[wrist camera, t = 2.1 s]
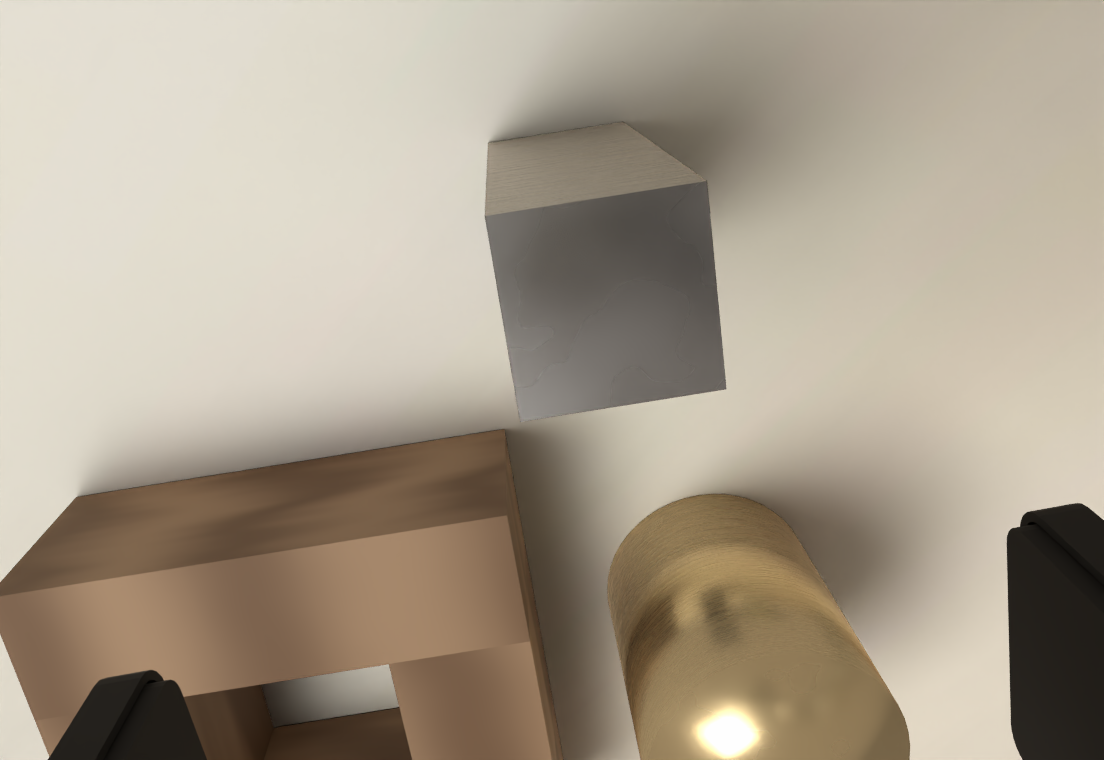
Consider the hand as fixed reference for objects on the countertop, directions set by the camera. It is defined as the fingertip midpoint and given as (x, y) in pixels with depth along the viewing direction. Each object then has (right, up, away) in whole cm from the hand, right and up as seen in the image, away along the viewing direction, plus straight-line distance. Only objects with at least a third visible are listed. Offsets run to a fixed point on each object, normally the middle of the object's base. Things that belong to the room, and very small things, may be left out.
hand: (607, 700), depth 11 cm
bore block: (-8, -6, +23) cm, 25 cm away
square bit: (0, +9, +19) cm, 21 cm away
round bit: (+5, -4, +23) cm, 24 cm away
